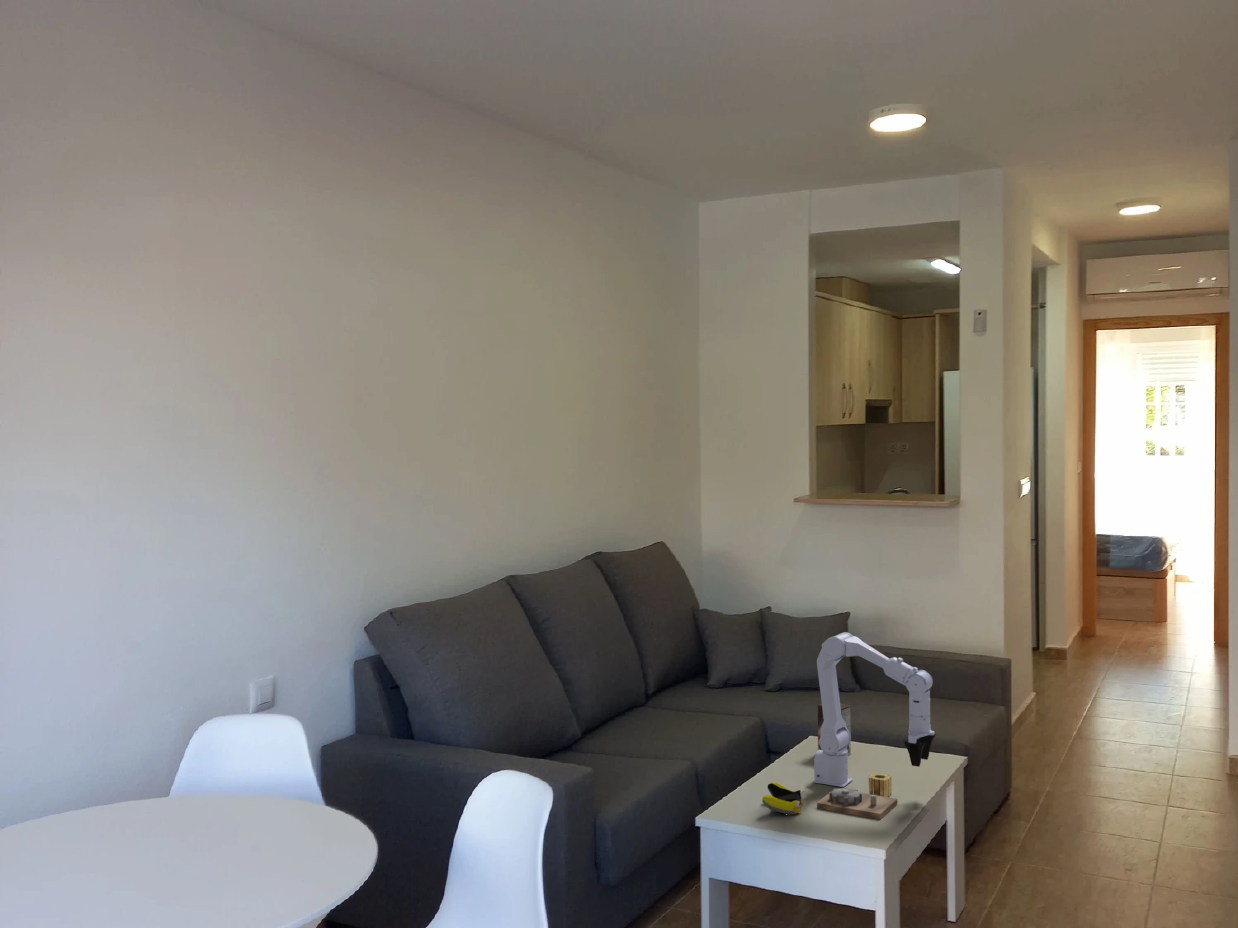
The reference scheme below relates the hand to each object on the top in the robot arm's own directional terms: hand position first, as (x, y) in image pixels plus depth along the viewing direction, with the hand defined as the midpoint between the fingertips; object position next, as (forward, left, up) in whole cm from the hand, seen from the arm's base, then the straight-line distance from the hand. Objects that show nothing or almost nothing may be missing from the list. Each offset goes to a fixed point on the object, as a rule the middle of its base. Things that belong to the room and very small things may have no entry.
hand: (919, 762), depth 306 cm
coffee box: (-36, +28, -10) cm, 47 cm away
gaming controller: (-29, -28, -10) cm, 42 cm away
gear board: (-12, -16, -10) cm, 23 cm away
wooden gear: (-10, -3, -10) cm, 15 cm away
